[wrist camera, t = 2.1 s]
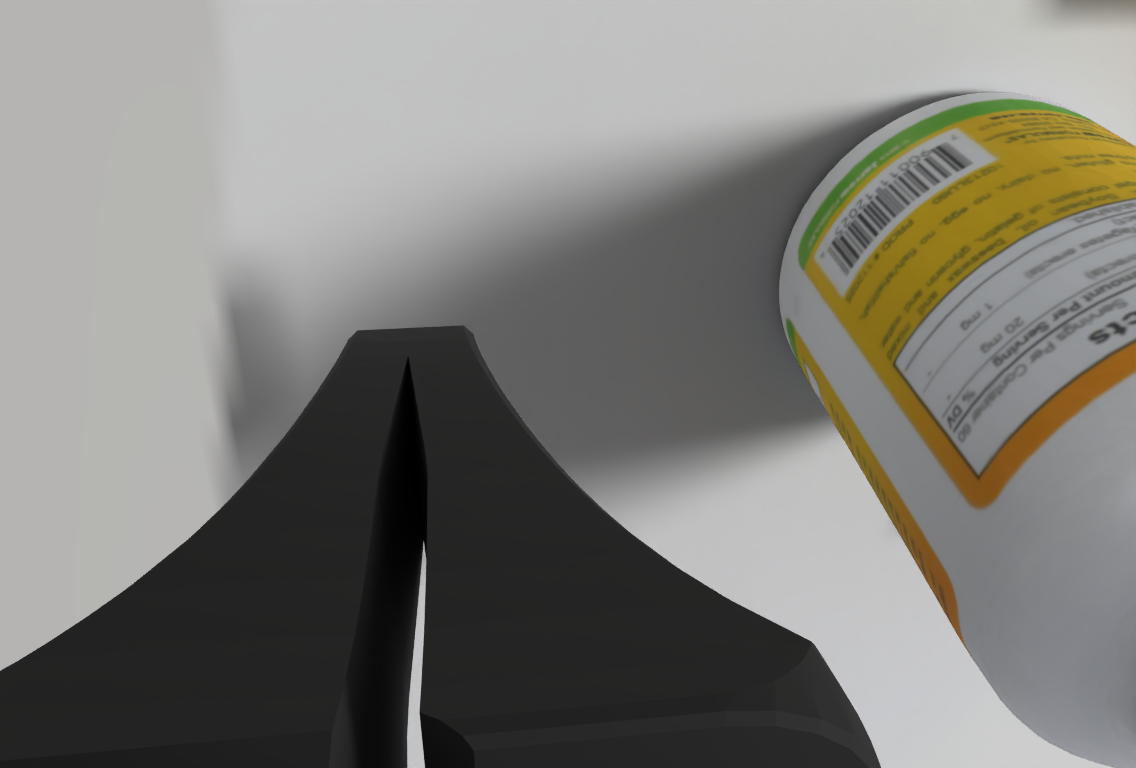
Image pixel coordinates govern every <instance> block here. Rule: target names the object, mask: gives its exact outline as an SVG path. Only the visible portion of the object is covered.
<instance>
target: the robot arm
mask: <svg viewBox="0 0 1136 768" xmlns="http://www.w3.org/2000/svg"><path fill="white" fill-rule="evenodd" d="M423 541H424V545H425V552H426V560H427V561H426V596H425V625H424V646H423V665H422V684H421V699H420V721H421V731H422V741H423V751H424V761H425V768H881V766H880V763H879V761H878V758H877V755H876V753H875V750H874V748H873V745H872V743H871V740H870V738H869V736H868V734H867V732H866V730H865V728H864V726H863V724H862V722H861V720H860V718H859V716H858V714H857V712H856V711H855V709H854V707H853V706H852V704H851V702H850V701H849V699H848V697H847V696H846V694H845V692H844V691H843V689H842V687H841V686H840V684H839V683H838V681H837V679H836V678H835V676H834V675H833V673H832V671H831V670H830V668H829V667H828V665H827V663H826V662H825V660H824V659H823V657H822V656H821V654H820V652H819V651H818V649H817V648H816V646H815V645H814V644H813V643H812V642H811V641H809V640H807V639H805V638H803V637H801V636H799V635H797V634H796V633H794V632H792V631H790V630H788V629H786V628H784V627H782V626H780V625H778V624H776V623H774V622H772V621H770V620H768V619H766V618H764V617H762V616H760V615H758V614H756V613H754V612H752V611H750V610H748V609H746V608H744V607H742V606H741V605H739V604H737V603H735V602H733V601H731V600H729V599H727V598H726V597H724V596H722V595H721V594H719V593H717V592H716V591H714V590H713V589H711V588H709V587H708V586H706V585H704V584H703V583H701V582H700V581H698V580H696V579H695V578H693V577H691V576H690V575H688V574H687V573H685V572H683V571H682V570H680V569H679V568H677V567H676V566H674V565H673V564H672V563H670V562H669V561H668V560H666V559H665V558H663V557H662V556H661V555H659V554H658V553H657V552H655V551H654V550H653V549H651V548H650V547H649V546H647V545H646V544H645V543H643V542H642V541H641V540H639V539H638V538H637V537H635V536H634V535H632V534H631V533H630V532H628V531H627V530H626V529H625V528H624V527H623V526H622V525H620V524H619V523H618V522H617V521H616V520H615V519H613V518H612V517H611V516H610V515H609V514H608V513H607V512H605V511H604V510H603V509H602V508H601V507H600V506H599V505H598V504H597V503H596V502H595V501H594V500H593V499H592V498H591V497H589V496H588V495H587V494H586V493H585V492H584V491H583V490H582V489H581V488H580V487H579V486H578V485H577V484H576V483H575V482H574V481H573V480H572V479H571V478H570V477H569V475H568V474H567V473H566V472H565V471H564V470H563V469H562V468H561V467H560V466H559V465H558V463H557V462H556V461H555V460H554V459H553V458H552V456H551V455H550V454H549V453H548V452H547V451H546V449H545V448H544V447H543V446H542V445H541V443H540V442H539V441H538V440H537V439H536V437H535V436H534V435H533V433H532V432H531V431H530V430H529V428H528V427H527V426H526V424H525V423H524V422H523V420H522V419H521V417H520V416H519V415H518V413H517V412H516V410H515V409H514V408H513V406H512V405H511V403H510V402H509V401H508V399H507V398H506V396H505V395H504V393H503V392H502V390H501V389H500V387H499V385H498V384H497V382H496V381H495V379H494V377H493V375H492V374H491V372H490V370H489V369H488V367H487V365H486V363H485V361H484V359H483V357H482V355H481V353H480V351H479V349H478V347H477V344H476V342H475V339H474V335H473V333H471V332H470V331H469V330H468V329H467V328H466V327H465V326H444V327H423V328H402V329H381V330H360V331H357V332H356V333H355V334H354V335H353V336H352V337H351V338H350V339H349V340H348V342H347V343H346V345H345V347H344V349H343V351H342V353H341V354H340V356H339V358H338V359H337V361H336V363H335V365H334V366H333V368H332V369H331V371H330V373H329V374H328V376H327V377H326V379H325V380H324V382H323V383H322V385H321V386H320V388H319V389H318V391H317V393H316V394H315V395H314V397H313V398H312V400H311V401H310V402H309V404H308V405H307V406H306V408H305V409H304V411H303V412H302V413H301V415H300V416H299V418H298V419H297V420H296V422H295V423H294V425H293V426H292V427H291V429H290V430H289V431H288V433H287V434H286V435H285V436H284V438H283V439H282V440H281V441H280V442H279V444H278V445H277V446H276V447H275V448H274V450H273V451H272V452H271V453H270V454H269V456H268V457H267V458H266V459H265V460H264V462H263V463H262V464H261V465H260V466H259V468H258V469H257V470H256V471H255V472H254V474H253V475H252V476H251V477H250V478H249V479H248V480H247V481H246V483H245V484H244V485H243V486H242V487H241V488H240V489H239V490H238V491H237V492H236V493H235V494H234V495H233V496H232V498H231V499H230V500H229V501H228V502H227V503H226V504H225V505H224V506H223V507H222V508H221V509H220V510H219V511H218V512H217V513H216V514H215V515H214V516H212V517H211V518H210V519H209V520H208V521H207V522H206V523H205V524H204V525H203V526H202V527H201V528H200V529H199V530H198V531H197V532H196V533H195V534H194V535H192V536H191V537H190V538H189V539H188V540H187V541H186V542H184V543H183V544H182V545H181V546H179V547H178V548H177V549H176V550H175V551H173V552H172V553H171V554H169V555H168V556H167V557H166V558H165V559H163V560H162V561H161V562H160V563H158V564H157V565H156V566H155V567H153V568H152V569H151V570H150V571H148V572H147V573H146V574H145V575H143V577H141V578H140V579H139V580H137V581H136V582H135V583H134V584H133V585H131V586H130V587H128V588H127V589H126V590H124V591H123V592H122V593H120V594H119V595H117V596H116V597H115V598H113V599H112V600H111V601H109V602H107V603H106V604H105V605H103V606H102V607H101V608H99V609H98V610H96V611H95V612H93V613H92V614H90V615H89V616H88V617H86V618H85V619H83V620H82V621H80V622H79V623H77V624H75V625H74V626H72V627H71V628H69V629H68V630H66V631H65V632H63V633H62V634H60V635H59V636H57V637H56V638H54V639H52V640H51V641H49V642H48V643H46V644H45V645H43V646H41V647H40V648H38V649H37V650H35V651H33V652H32V653H30V654H28V655H27V656H25V657H24V658H22V659H20V660H19V661H17V662H15V663H14V664H12V665H10V666H8V667H6V668H5V669H3V670H1V671H0V768H407V726H408V706H409V692H410V681H411V671H412V660H413V649H414V639H415V628H416V618H417V607H418V596H419V586H420V575H421V564H422V552H423Z"/></svg>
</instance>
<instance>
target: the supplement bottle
mask: <svg viewBox="0 0 1136 768" xmlns="http://www.w3.org/2000/svg"><path fill="white" fill-rule="evenodd" d="M779 304H780V313H781V318H782V323H783V327H784V331H785V334H786V338H787V340H788V343H789V345H790V347H791V350H792V352H793V354H794V356H795V358H796V359H797V361H798V363H799V365H800V367H801V369H802V371H803V373H804V374H805V376H806V378H807V380H808V381H809V383H810V385H811V387H812V388H813V390H814V392H815V393H816V395H817V396H818V398H819V400H820V401H821V403H822V404H823V406H824V408H825V409H826V411H827V412H828V414H829V416H830V417H831V419H832V421H833V423H834V425H835V426H836V428H837V430H838V431H839V433H840V435H841V436H842V438H843V440H844V441H845V443H846V444H847V446H848V448H849V449H850V451H851V453H852V455H853V456H854V458H855V459H856V461H857V463H858V465H859V466H860V468H861V470H862V471H863V473H864V474H865V476H866V478H867V480H868V482H869V483H870V485H871V486H872V488H873V490H874V492H875V493H876V495H877V497H878V499H879V500H880V502H881V504H882V505H883V507H884V509H885V511H886V512H887V514H888V516H889V517H890V519H891V521H892V522H893V524H894V526H895V528H896V529H897V531H898V533H899V534H900V536H901V538H902V539H903V541H904V543H905V545H906V546H907V548H908V550H909V551H910V553H911V555H912V557H913V558H914V560H915V562H916V564H917V565H918V567H919V569H920V570H921V572H922V574H923V576H924V577H925V579H926V581H927V583H928V584H929V586H930V588H931V589H932V591H933V593H934V595H935V596H936V598H937V600H938V601H939V603H940V605H941V607H942V609H943V610H944V612H945V614H946V615H947V617H948V619H949V621H950V622H951V624H952V626H953V628H954V629H955V631H956V633H957V635H958V636H959V638H960V640H961V641H962V643H963V644H964V646H965V648H966V649H967V651H968V652H969V654H970V656H971V657H972V659H973V660H974V662H975V663H976V664H977V666H978V667H979V669H980V670H981V672H982V673H983V675H984V676H985V678H986V679H987V681H988V682H989V684H990V685H991V687H992V688H993V690H994V691H995V692H996V694H997V695H998V697H999V698H1000V700H1001V701H1002V702H1003V703H1004V704H1005V705H1006V707H1007V708H1008V709H1009V710H1010V711H1011V712H1012V713H1013V714H1014V715H1015V716H1016V717H1017V718H1018V719H1019V720H1020V721H1021V722H1022V723H1024V724H1025V725H1026V726H1027V727H1028V728H1030V729H1031V730H1032V731H1033V732H1034V733H1035V734H1037V735H1038V736H1040V737H1041V738H1043V739H1044V740H1046V741H1047V742H1049V743H1051V744H1053V745H1055V746H1057V747H1059V748H1061V749H1063V750H1065V751H1067V752H1069V753H1071V754H1073V755H1076V756H1078V757H1081V758H1084V759H1087V760H1090V761H1093V762H1095V763H1099V764H1103V765H1107V766H1112V767H1116V768H1136V146H1134V145H1132V144H1131V143H1129V142H1127V141H1126V140H1124V139H1122V138H1120V137H1119V136H1117V135H1115V134H1114V133H1112V132H1110V131H1109V130H1107V129H1105V128H1104V127H1102V126H1100V125H1098V124H1097V123H1095V122H1093V121H1092V120H1090V119H1088V118H1086V117H1084V116H1082V115H1080V114H1078V113H1076V112H1075V111H1073V110H1070V109H1068V108H1066V107H1064V106H1062V105H1059V104H1057V103H1054V102H1052V101H1049V100H1045V99H1042V98H1038V97H1035V96H1029V95H1023V94H1017V93H1006V92H982V93H972V94H966V95H961V96H956V97H951V98H948V99H944V100H940V101H937V102H934V103H932V104H929V105H926V106H924V107H921V108H919V109H917V110H914V111H912V112H910V113H908V114H906V115H904V116H902V117H900V118H898V119H896V120H894V121H893V122H891V123H889V124H888V125H886V126H884V127H883V128H881V129H880V130H878V131H876V132H875V133H873V134H872V135H870V136H869V137H868V138H866V139H865V140H863V141H862V142H861V143H859V144H858V145H857V146H856V147H855V148H853V149H852V150H851V151H850V152H849V153H848V154H847V155H845V156H844V157H843V158H842V159H841V160H840V161H839V162H838V163H837V164H836V166H835V167H834V168H833V169H832V170H831V171H830V172H829V173H828V174H827V175H826V177H825V178H824V179H823V180H822V182H821V183H820V184H819V185H818V187H817V188H816V189H815V190H814V192H813V193H812V195H811V196H810V198H809V199H808V201H807V202H806V204H805V206H804V207H803V209H802V211H801V213H800V215H799V217H798V219H797V221H796V223H795V225H794V227H793V229H792V232H791V235H790V237H789V240H788V243H787V246H786V250H785V253H784V257H783V261H782V267H781V273H780V282H779Z"/></svg>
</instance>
